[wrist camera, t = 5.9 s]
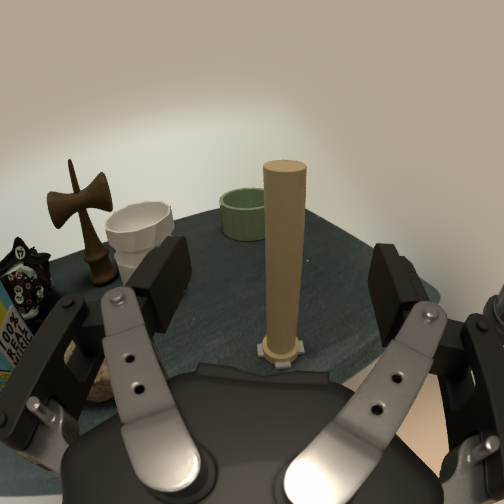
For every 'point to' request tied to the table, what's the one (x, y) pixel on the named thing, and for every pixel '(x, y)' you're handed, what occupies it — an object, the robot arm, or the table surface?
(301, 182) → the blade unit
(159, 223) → the vase
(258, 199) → the processor bowl
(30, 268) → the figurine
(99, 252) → the kendama
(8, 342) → the carton
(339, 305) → the table surface
